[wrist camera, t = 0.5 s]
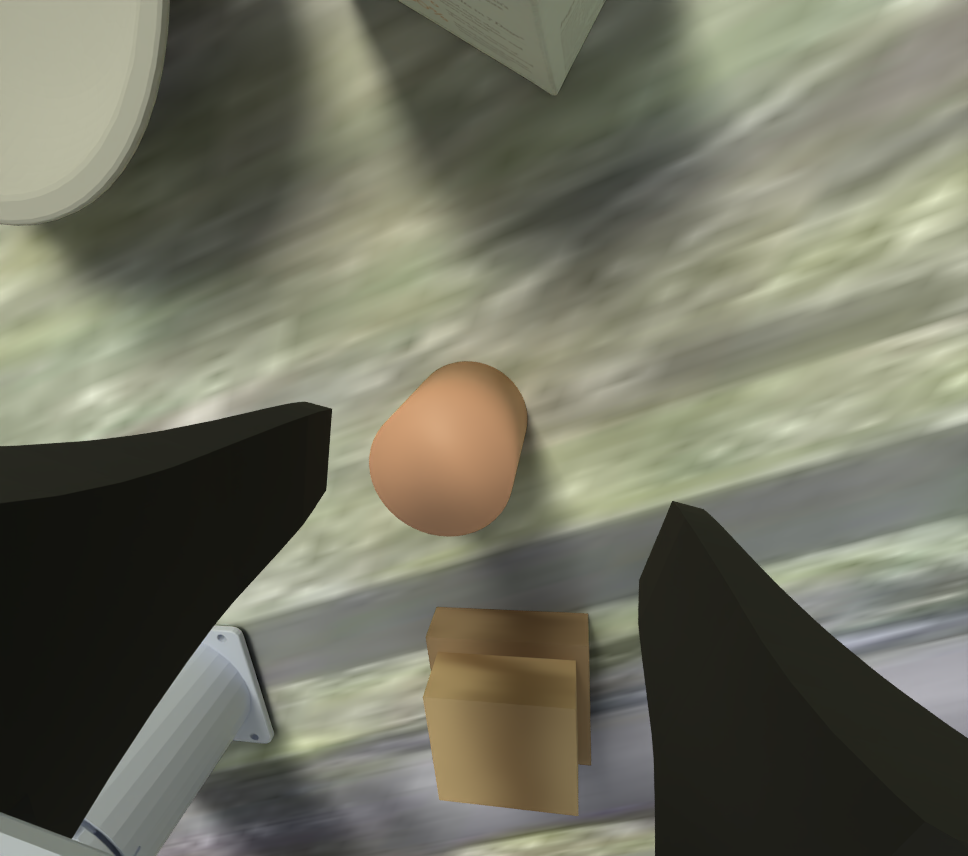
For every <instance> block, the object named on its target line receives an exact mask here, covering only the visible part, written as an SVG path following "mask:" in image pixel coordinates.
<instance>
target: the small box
mask: <svg viewBox="0 0 968 856" xmlns="http://www.w3.org/2000/svg"><path fill="white" fill-rule="evenodd" d="M398 1H400V2H401V3H403V4H405V5H406V6H408V7H410V8H411V9H413V10H415V11H416V12H418V13H420V14H421V15H423V16H424V17H426V18H428V19H429V20H431V21H433V22H434V23H436V24H438V25H439V26H441V27H443V28H444V29H446V30H447V31H449V32H451V33H452V34H454V35H456V36H457V37H459V38H460V39H462V40H464V41H465V42H467V43H469V44H470V45H472V46H474V47H475V48H477V49H478V50H480V51H482V52H483V53H485V54H487V55H488V56H490V57H492V58H493V59H495V60H497V61H498V62H500V63H502V64H503V65H505V66H507V67H508V68H510V69H511V70H513V71H515V72H516V73H518V74H519V75H521V76H523V77H524V78H526V79H528V80H529V81H531V82H532V83H534V84H536V85H537V86H539V87H540V88H542V89H543V90H545V91H546V92H548V93H549V94H551V95H557V94H558V92H559V90H560V88H561V86H562V84H563V82H564V80H565V78H566V76H567V74H568V72H569V70H570V68H571V66H572V64H573V62H574V61H575V59H576V57H577V55H578V53H579V51H580V49H581V47H582V45H583V43H584V41H585V39H586V37H587V35H588V33H589V31H590V30H591V28H592V26H593V24H594V22H595V20H596V18H597V16H598V14H599V12H600V10H601V8H602V6H603V4H604V2H605V0H398Z"/></svg>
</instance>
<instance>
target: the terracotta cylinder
mask: <svg viewBox="0 0 968 856" xmlns="http://www.w3.org/2000/svg"><path fill="white" fill-rule="evenodd" d="M526 429H527V410H526V406H525V402H524V400H523V397H522V395H521V393H520V391H519V390H518V388H517V387H516V386H515V384H514V383H513V382H512V381H511V380H510V379H509V378H508V377H507V376H506V375H504V374H503V373H502V372H500V371H499V370H497V369H495V368H493V367H491V366H489V365H486V364H482V363H478V362H468V361H463V362H456V363H452V364H448V365H446V366H443V367H441V368H439V369H438V370H436V371H435V372H433V373H432V374H431V375H430V376H429V377H428V378H427V379H426V380H425V381H424V382H423V383H422V384H421V385H420V386H419V387H418V388H417V389H416V390H415V392H414V393H413V394H412V395H411V396H410V397H409V398H408V399H407V400H406V401H405V402H404V403H403V404H402V405H401V406H400V407H399V408H398V409H397V411H396V412H395V413H394V414H393V415H392V416H391V417H390V418H389V419H388V420H387V421H386V422H385V423H384V424H383V425H382V427H381V428H380V430H379V431H378V432H377V434H376V436H375V438H374V440H373V443H372V446H371V451H370V456H369V467H370V475H371V479H372V482H373V485H374V488H375V490H376V492H377V494H378V496H379V497H380V499H381V500H382V502H383V503H384V505H385V506H386V507H387V508H388V509H389V510H390V512H392V513H393V514H394V515H395V516H396V517H397V518H398V519H400V520H401V521H403V522H404V523H405V524H407V525H409V526H411V527H412V528H415V529H417V530H419V531H422V532H425V533H428V534H432V535H438V536H460V535H466V534H469V533H473V532H475V531H478V530H480V529H482V528H484V527H485V526H487V525H489V524H490V523H491V522H492V521H494V520H495V519H496V518H497V517H498V516H499V515H500V513H501V512H502V511H503V509H504V508H505V506H506V504H507V502H508V500H509V498H510V495H511V491H512V488H513V483H514V479H515V475H516V471H517V467H518V463H519V458H520V454H521V450H522V446H523V442H524V438H525V433H526Z"/></svg>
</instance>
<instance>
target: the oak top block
mask: <svg viewBox="0 0 968 856" xmlns="http://www.w3.org/2000/svg"><path fill="white" fill-rule="evenodd" d="M423 700H424V706H425V712H426V719H427V725H428V731H429V738H430V744H431V750H432V756H433V763H434V769H435V775H436V781H437V788H438V794H439V800H444V801H453V802H462V803H470V804H479V805H487V806H496V807H505V808H513V809H522V810H531V811H539V812H548V813H556V814H565V815H574V816H578V733H577V690H576V661H575V660H559V659H543V658H527V657H511V656H495V655H479V654H464V653H448V652H437V656H436V659H435V662H434V665H433V668H432V671H431V674H430V677H429V680H428V683H427V686H426V689H425V692H424V696H423Z"/></svg>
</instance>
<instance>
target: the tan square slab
mask: <svg viewBox="0 0 968 856" xmlns="http://www.w3.org/2000/svg"><path fill="white" fill-rule="evenodd" d="M426 642H427V648H428V655H429V661H430V668H431V671H432V668H433V665H434V662H435V659H436V656H437V652H448V653H464V654H479V655H495V656H511V657H527V658H543V659H559V660H575V661H576V690H577V733H578V764H580V765H591V731H590V676H589V630H588V613H565V612H542V611H518V610H495V609H471V608H448V607H437V608H436V610H435V613H434V616H433V619H432V621H431V624H430V627H429V630H428V632H427V635H426Z"/></svg>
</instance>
